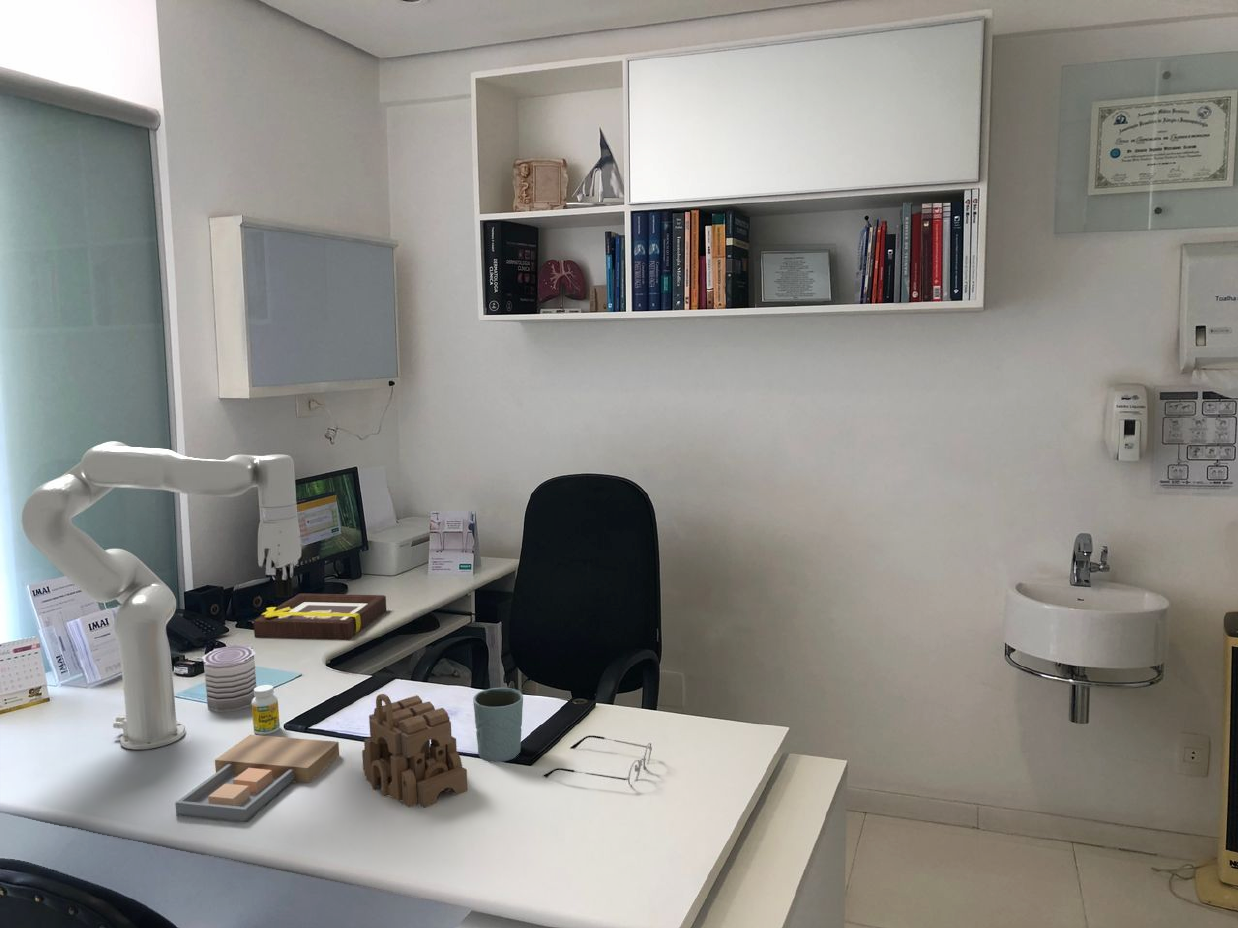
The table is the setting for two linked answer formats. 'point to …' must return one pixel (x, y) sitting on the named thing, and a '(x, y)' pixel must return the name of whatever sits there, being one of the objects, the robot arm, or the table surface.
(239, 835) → the table surface
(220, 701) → the can
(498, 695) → the green cup
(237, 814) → the tray
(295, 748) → the board
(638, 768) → the eyeglasses
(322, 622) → the picture frame
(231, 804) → the tile front
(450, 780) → the wooden puzzle
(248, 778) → the tile rear
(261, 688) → the supplement bottle
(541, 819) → the table surface
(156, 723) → the robot arm
